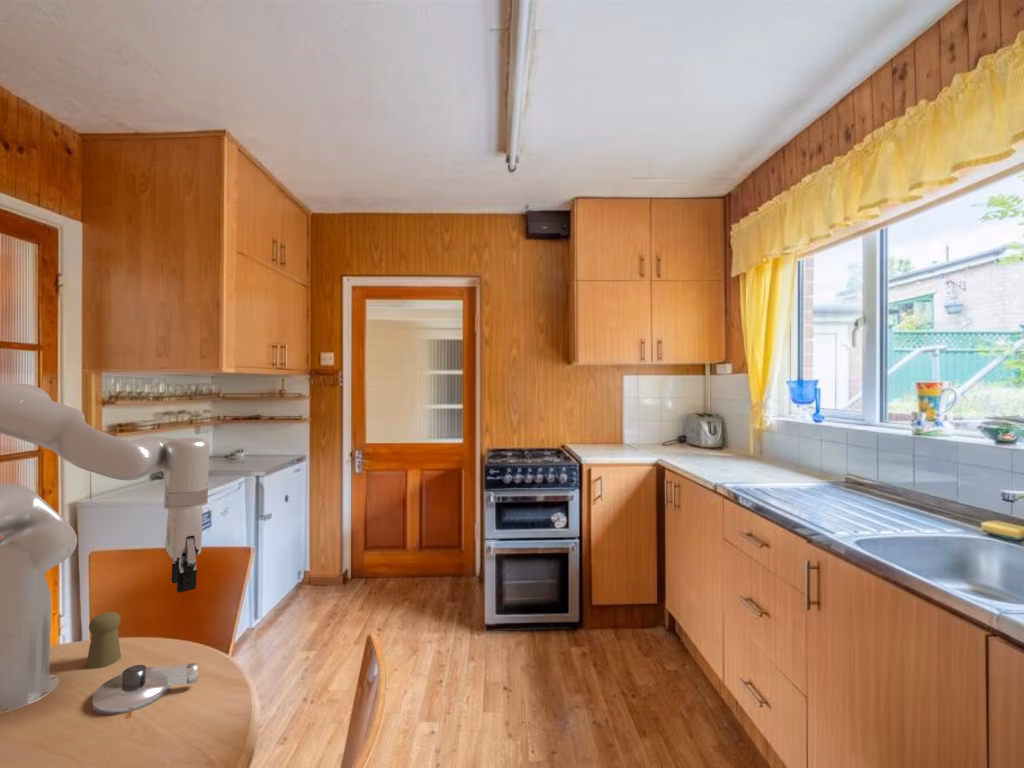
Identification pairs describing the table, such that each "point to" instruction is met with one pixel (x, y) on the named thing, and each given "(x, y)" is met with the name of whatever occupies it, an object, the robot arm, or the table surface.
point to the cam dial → (140, 687)
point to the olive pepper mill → (104, 640)
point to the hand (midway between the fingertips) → (183, 584)
